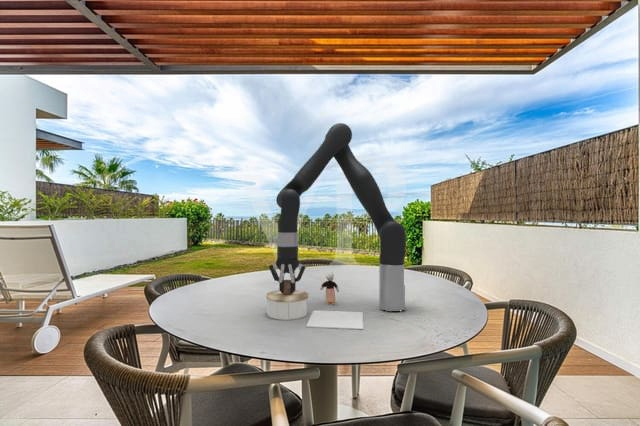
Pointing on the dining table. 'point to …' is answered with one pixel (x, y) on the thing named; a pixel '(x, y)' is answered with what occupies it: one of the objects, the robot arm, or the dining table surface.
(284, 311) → the bowl
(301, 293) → the lid
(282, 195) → the robot arm
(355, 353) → the dining table surface
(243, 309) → the dining table surface
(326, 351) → the dining table surface
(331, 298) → the grandmother figurine
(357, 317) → the mat
